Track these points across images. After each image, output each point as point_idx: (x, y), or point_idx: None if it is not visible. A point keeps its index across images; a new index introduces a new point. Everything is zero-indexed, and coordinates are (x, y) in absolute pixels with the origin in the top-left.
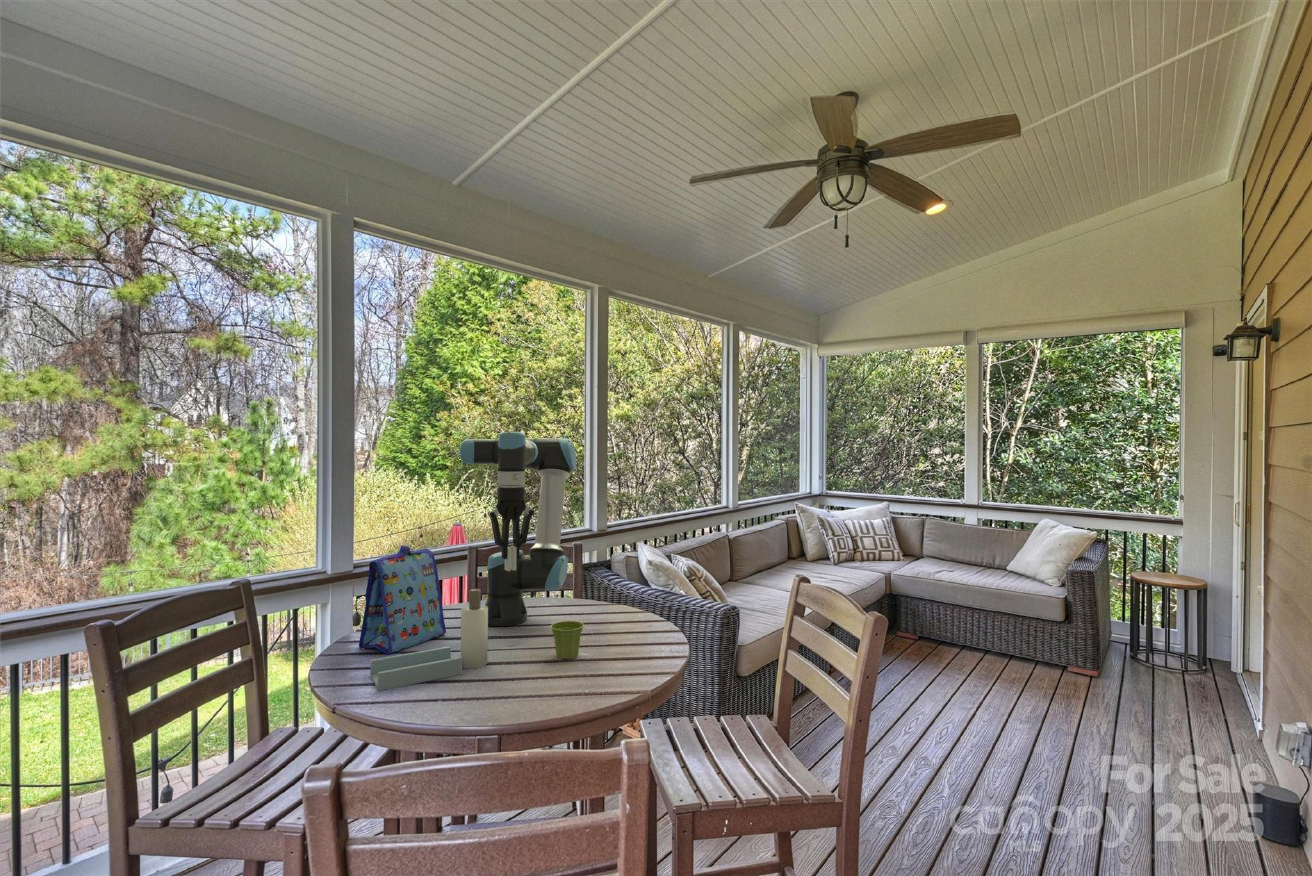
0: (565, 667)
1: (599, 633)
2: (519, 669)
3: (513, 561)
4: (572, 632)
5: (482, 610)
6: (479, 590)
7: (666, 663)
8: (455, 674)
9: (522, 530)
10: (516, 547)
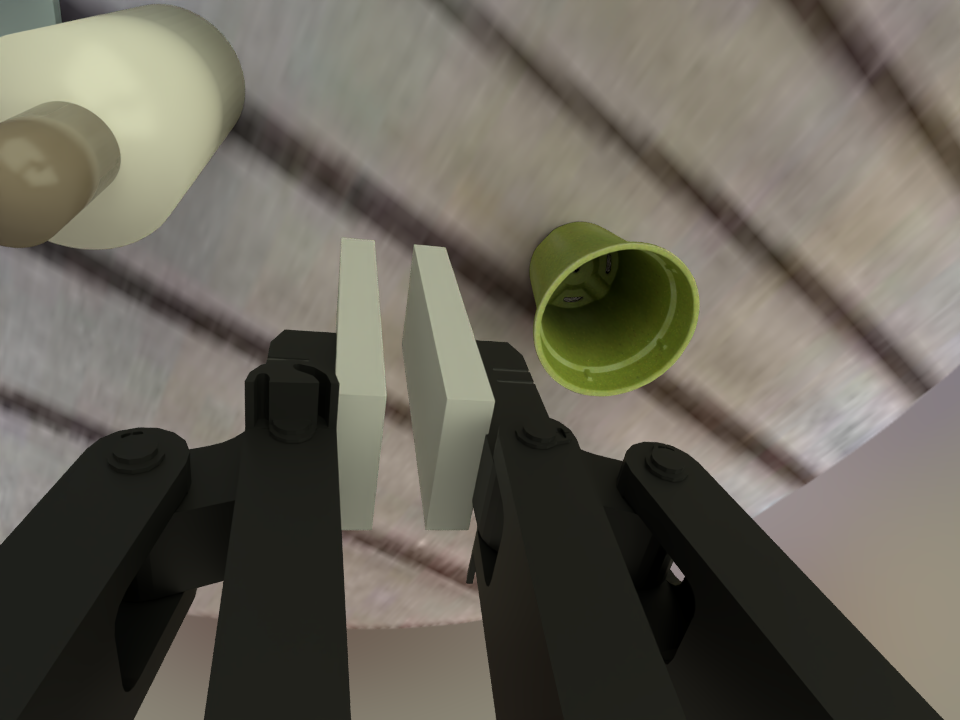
0: None
1: (894, 90)
2: (335, 281)
3: (409, 392)
4: (585, 382)
5: (117, 241)
6: (46, 237)
7: (737, 501)
8: None
9: (739, 711)
10: (467, 527)
